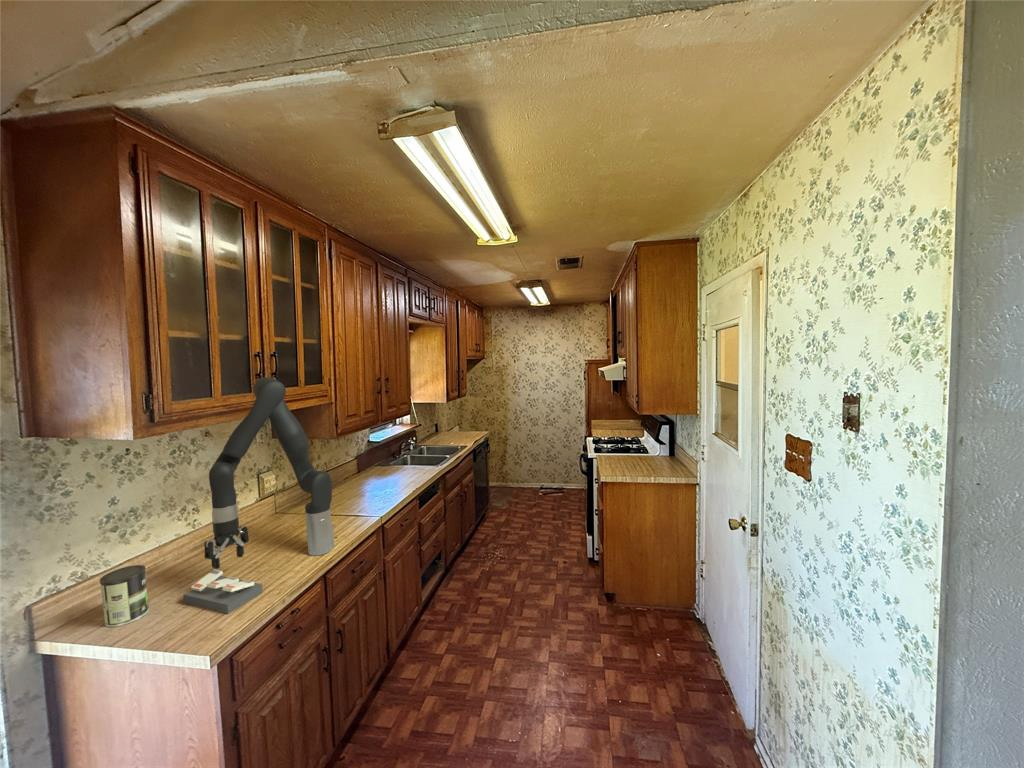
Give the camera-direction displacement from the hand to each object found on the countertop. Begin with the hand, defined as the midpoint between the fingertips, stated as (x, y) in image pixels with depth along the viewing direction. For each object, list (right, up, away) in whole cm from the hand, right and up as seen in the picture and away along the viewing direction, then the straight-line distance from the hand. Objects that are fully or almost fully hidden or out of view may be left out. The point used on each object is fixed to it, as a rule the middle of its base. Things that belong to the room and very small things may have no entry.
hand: (228, 562), depth 145 cm
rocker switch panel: (+4, -8, -9) cm, 13 cm away
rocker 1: (-2, -4, -7) cm, 8 cm away
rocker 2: (+4, -4, -9) cm, 10 cm away
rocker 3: (+11, -4, -11) cm, 16 cm away
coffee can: (-20, -10, -17) cm, 28 cm away
